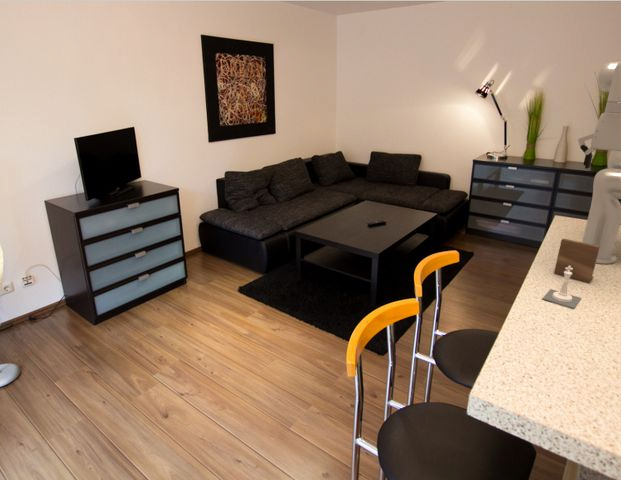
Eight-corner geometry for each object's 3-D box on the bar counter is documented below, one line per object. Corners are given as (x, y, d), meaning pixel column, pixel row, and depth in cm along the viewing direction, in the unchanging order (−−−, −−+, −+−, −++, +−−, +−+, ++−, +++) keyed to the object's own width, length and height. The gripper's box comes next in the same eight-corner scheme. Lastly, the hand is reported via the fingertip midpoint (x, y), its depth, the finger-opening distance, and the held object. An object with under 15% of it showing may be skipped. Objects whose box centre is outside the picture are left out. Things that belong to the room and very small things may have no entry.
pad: (550, 290, 122) (550, 289, 122) (581, 299, 117) (581, 297, 117) (542, 299, 117) (542, 298, 117) (574, 309, 112) (574, 308, 112)
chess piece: (574, 302, 114) (583, 270, 111) (555, 301, 115) (563, 268, 112) (568, 294, 119) (575, 263, 115) (549, 293, 120) (556, 261, 116)
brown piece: (558, 269, 136) (565, 235, 132) (593, 278, 130) (602, 243, 126) (553, 274, 133) (561, 239, 129) (589, 283, 126) (598, 247, 122)
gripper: (663, 109, 110) (645, 172, 116) (588, 107, 122) (575, 165, 128) (659, 110, 105) (641, 176, 111) (582, 108, 117) (569, 168, 123)
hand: (606, 170), depth 119 cm, fingers open, 9 cm apart
